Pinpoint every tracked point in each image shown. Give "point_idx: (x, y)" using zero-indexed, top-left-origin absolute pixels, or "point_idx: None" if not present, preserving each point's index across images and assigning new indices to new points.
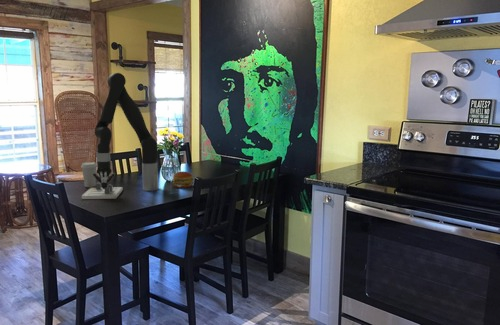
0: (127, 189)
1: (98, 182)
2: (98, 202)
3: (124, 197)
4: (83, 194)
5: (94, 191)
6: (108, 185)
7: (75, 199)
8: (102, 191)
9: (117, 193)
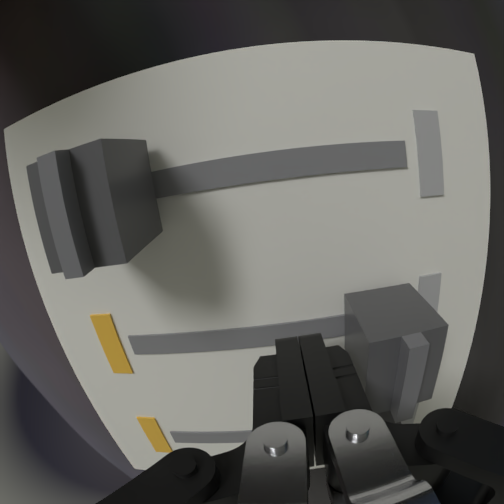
0: (479, 32)
1: (54, 197)
2: (312, 493)
3: (488, 375)
4: (117, 441)
5: (149, 354)
6: (379, 370)
7: (102, 442)
8: (262, 345)
9: (457, 383)
